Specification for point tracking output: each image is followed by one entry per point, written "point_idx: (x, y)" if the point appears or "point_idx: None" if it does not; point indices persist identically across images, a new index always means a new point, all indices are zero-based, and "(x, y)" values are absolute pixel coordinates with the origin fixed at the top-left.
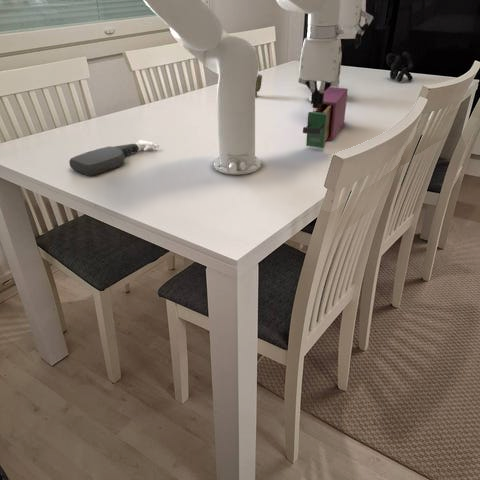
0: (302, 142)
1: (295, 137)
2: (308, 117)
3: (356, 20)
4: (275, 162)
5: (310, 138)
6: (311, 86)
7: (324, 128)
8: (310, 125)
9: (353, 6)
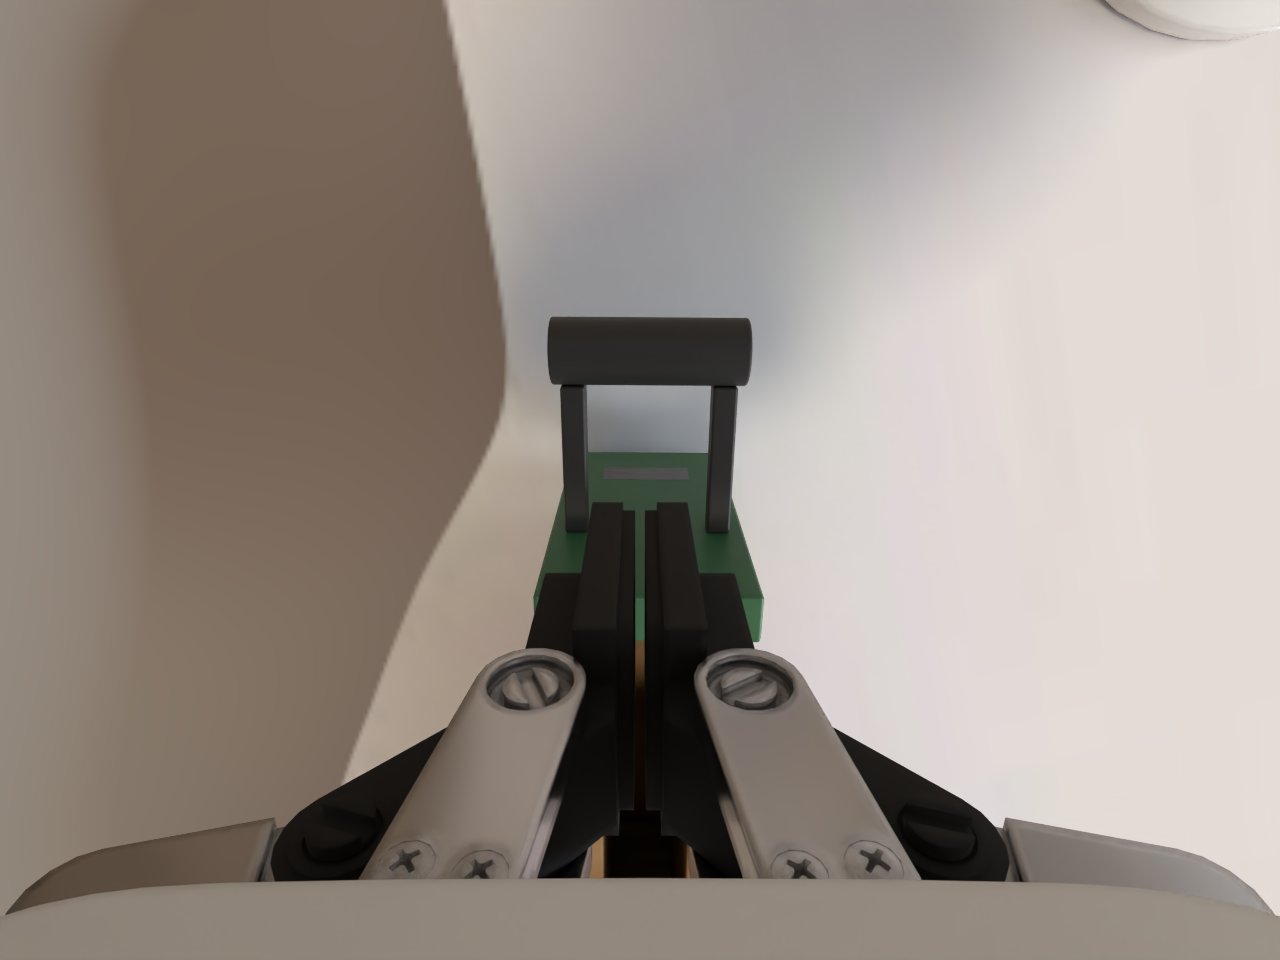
0: (770, 563)
1: (843, 642)
2: (748, 567)
3: None
4: (907, 27)
5: (689, 477)
6: (801, 745)
7: (558, 519)
8: (706, 518)
9: None
